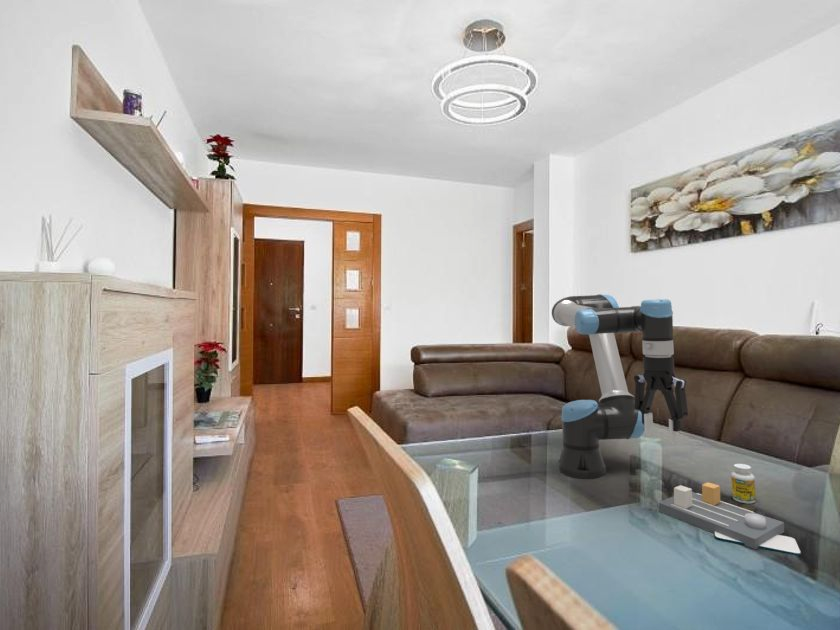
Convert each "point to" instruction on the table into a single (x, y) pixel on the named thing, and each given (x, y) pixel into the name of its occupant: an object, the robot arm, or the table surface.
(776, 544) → the smartphone
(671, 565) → the table surface
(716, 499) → the slider orange
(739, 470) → the supplement bottle
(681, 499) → the slider ivory
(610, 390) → the robot arm
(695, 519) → the console
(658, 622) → the table surface
